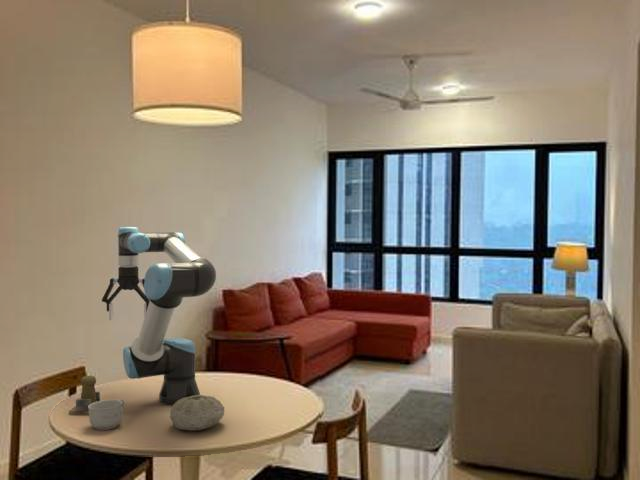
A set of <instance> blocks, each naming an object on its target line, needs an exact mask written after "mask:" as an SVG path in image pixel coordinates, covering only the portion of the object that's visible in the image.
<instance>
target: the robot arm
mask: <svg viewBox="0 0 640 480" xmlns="http://www.w3.org/2000/svg"><path fill="white" fill-rule="evenodd" d="M117 238H118V241H117V242H118V243H117V245H118V252H117V253H118V259H117V260H118V268H117V269H118V270H117V271H118V275H117V276H118V278H114V277H112V278H110V279H109V284H108V286H107V289H106V290H105V293H104V295H103V296H102V298H101V302H103V303H105V304H106V312H108V317H109V318H108V320H109V321H113V320H114V303H113V300H114V299H115V298H116V297H117V295H118V294H119V293H121V291H122V290H124V291H127V290H129V291H132V290H134V291H135V292H136V293H137V294H138V295H139V296H140V298H141V299H142V300H143V301H144V302H145V303H144V304H143V320H142V321H143V322H142V325H141V329H140V332H139V335H138V337H136V338H135V339H134V340H133V341H132V343H131V345H130V346H126V347H124V348H123V350H122V359H123V360H122V361H123V367H124V371H125V373H126V376H127V377H128V378H129V379H131V380H132V379H143V378H151V377H156V376H158V377H159V376H163V381H162V384H161V388H160V391H159V395H158V401H159V403H160V404H163V405H166V406H167V405H168V406H169V405H170V406H173V405H174V404H175V403H176V402H177V401H178V400H180V399H182V398H186V397H190V396H193V395H194V396H195V395H201V393H200V389H199V387H198V383H197V380H196V353H197V352H196V345H195V343H194V341H193V340H191V339H188V338H181V337H167V338H165V336H166V334H167V331H168V327H169V325H170V324H171V323H170V322H171V319H172V316H173V313H174V311H175V309H176V308H178V307H179V306H180V305H181V303H182V301H183V298H193V297H195V298H196V297H200V296H203V295H205V294H206V293H208V292H209V291H210V290H211V289H213V286H214V285H215V283H216V280H217V272H216V268H215V266H214V265H213V263H212V262H211V261H209V260H208V259H207V258H205V257H201V256H199V255H198V254H197V253H196V252H195V251H194V250H193V249H192V248H190V247H189V246H188V245H187V244H186V238H185V235H184V234H183V233H182V232H177V231H176V232H175V231H173V232H171V231H169V232H139V228H138V227H136V226H120V227H119V228H118V233H117ZM143 253H165V254H166V255H167V256H168V257H169V258H170V259H171V260H172V261H173V262H160V263H159V262H158V263H154V264H152V265H150V266H149V267H148V269H147V270H146V272H145V275H144V278H139V266H138V265H139V254H143ZM139 283H141V285H142V287H143V290H144V291H143V290H142V289H141V288H140V286H139ZM115 284H118V285H119V286H118V287H117V288H116V290H115V291H114V292H113V293H112V294H111V292H112V290H113V289H114V286H115Z"/></svg>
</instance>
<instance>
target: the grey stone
mask: <svg viewBox="0 0 640 480" xmlns="http://www.w3.org/2000/svg"><path fill="white" fill-rule="evenodd" d="M170 406H171V407H170V408H171V409H170V412H169V418H170V420H171V421H170V422H171V423H172V424H173V425H174V426H175V427H176V428H177V429H179V430H184V431H193V432H195V431H201V430H202V431H203V430H207V429H209V428H211V427H213V426H215V425H217V424H218V423H219V422H220V421H221V420H222V419H223V417H224V415H225V406H224V405H223V404H222V402H221V401H220V400H218V399H217V398H216V397H214V396H210V395H201V394H200V395H195V396H194V395H193V396H190V397H186V398H182V399H180V400H178V401H177V402H176V403H175V404H174V405H170Z"/></svg>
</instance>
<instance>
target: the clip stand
mask: <svg viewBox="0 0 640 480" xmlns="http://www.w3.org/2000/svg"><path fill="white" fill-rule="evenodd" d="M95 393H96V400H97V402H98V401H101V391H95ZM90 404H91V399H81V398H76V399H75V406H73V407H72V408H71V409H70V410H69V411H68V415H89V408H88V406H89V405H90Z"/></svg>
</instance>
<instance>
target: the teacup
mask: <svg viewBox="0 0 640 480" xmlns="http://www.w3.org/2000/svg"><path fill="white" fill-rule="evenodd" d="M124 407H125V401H124V399H123V398H117V399H103V400H100V401H98V402H94V403H92V404H90V405H89V406H88V408H89V414H88V417H89V419H88V420H89V423H90V424H89V425H91V426H92V427H93V428H94V429H96V430H99V431H108V430H111V429H114V428H116V427H118V426H119V424H120V423H121V422H122V421H123V416H124V415H123V414H124V413H123V410H124V409H123V408H124Z"/></svg>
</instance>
